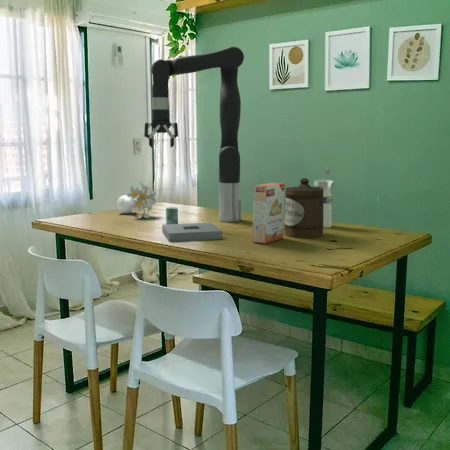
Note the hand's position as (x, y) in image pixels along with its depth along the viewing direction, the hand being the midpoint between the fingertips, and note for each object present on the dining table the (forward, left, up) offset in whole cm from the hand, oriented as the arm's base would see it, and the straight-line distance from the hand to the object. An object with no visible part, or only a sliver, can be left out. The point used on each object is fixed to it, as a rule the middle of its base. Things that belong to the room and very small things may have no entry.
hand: (161, 147), depth 238 cm
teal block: (-2, +13, -33) cm, 36 cm away
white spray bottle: (-65, +24, -33) cm, 77 cm away
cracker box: (-33, +48, -33) cm, 67 cm away
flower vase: (+10, -26, -33) cm, 43 cm away
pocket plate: (-7, +31, -33) cm, 46 cm away
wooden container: (-50, +40, -33) cm, 72 cm away
